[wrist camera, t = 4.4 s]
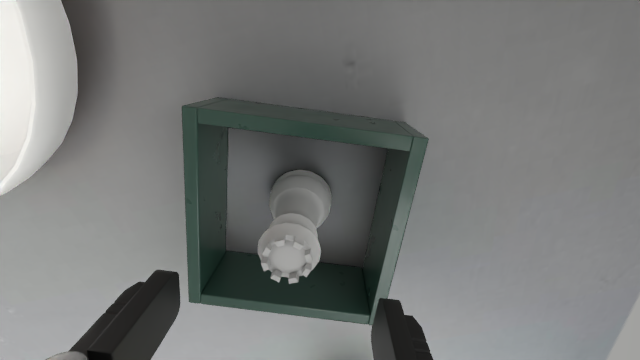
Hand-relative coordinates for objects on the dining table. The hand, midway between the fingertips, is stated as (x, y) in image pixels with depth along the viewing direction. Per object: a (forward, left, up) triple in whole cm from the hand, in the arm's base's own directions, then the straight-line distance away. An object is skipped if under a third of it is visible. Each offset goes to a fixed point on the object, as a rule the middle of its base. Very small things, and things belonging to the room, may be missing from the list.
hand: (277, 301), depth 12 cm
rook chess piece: (0, 0, -11) cm, 11 cm away
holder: (0, 0, -11) cm, 11 cm away
